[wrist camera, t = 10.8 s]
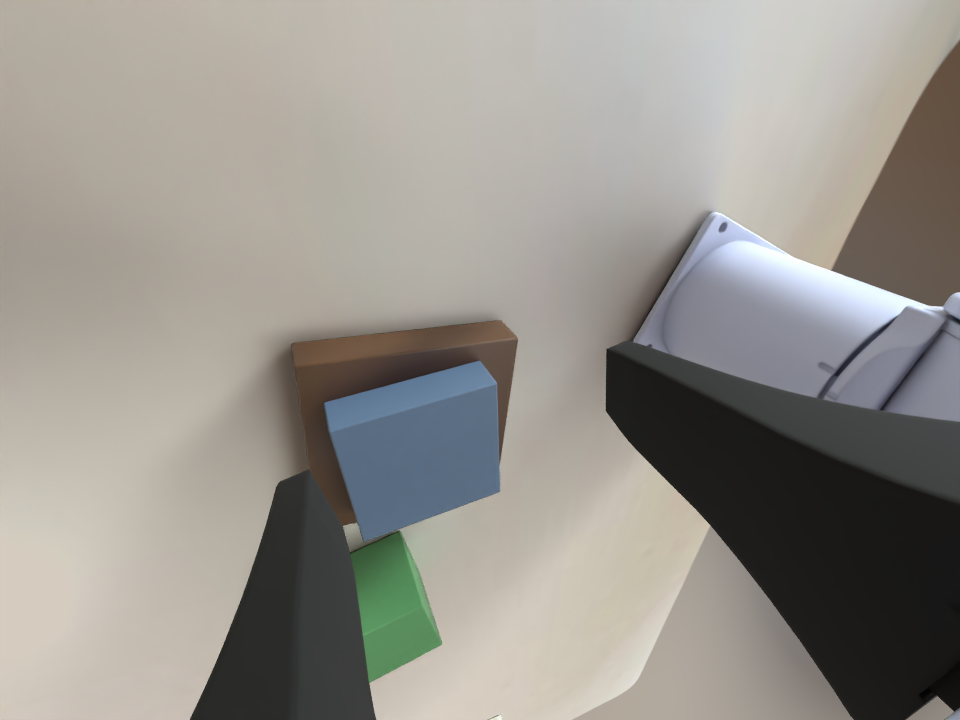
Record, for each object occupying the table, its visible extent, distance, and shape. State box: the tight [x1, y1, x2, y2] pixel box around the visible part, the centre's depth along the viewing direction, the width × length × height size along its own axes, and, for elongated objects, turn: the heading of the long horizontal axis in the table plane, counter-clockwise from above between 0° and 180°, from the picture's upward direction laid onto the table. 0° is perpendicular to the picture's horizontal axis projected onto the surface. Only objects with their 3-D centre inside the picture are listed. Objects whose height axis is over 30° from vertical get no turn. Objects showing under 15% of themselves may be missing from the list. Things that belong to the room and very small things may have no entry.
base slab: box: [291, 320, 518, 526], centre depth 21 cm, size 9×9×2 cm
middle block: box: [324, 361, 500, 542], centre depth 19 cm, size 6×6×2 cm
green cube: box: [350, 531, 442, 683], centre depth 25 cm, size 5×5×5 cm
